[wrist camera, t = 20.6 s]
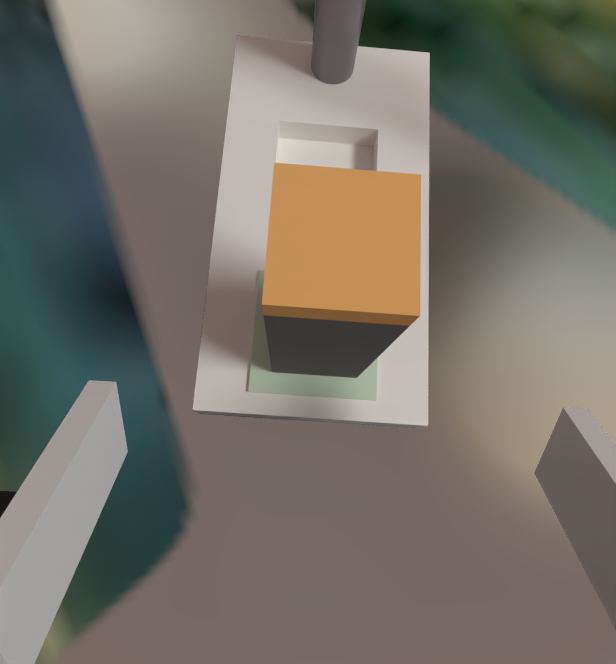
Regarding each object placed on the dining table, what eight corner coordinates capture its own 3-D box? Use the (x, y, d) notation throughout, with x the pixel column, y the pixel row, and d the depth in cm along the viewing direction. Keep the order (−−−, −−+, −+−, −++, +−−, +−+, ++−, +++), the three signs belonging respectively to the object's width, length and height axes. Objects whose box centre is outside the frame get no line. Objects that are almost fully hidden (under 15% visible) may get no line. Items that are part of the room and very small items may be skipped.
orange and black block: (278, 291, 24) (274, 162, 13) (359, 297, 24) (421, 174, 13) (272, 372, 23) (261, 304, 12) (356, 377, 23) (420, 315, 12)
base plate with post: (240, 68, 30) (207, -222, 17) (417, 84, 30) (518, -188, 17) (201, 413, 25) (111, 375, 12) (414, 428, 25) (550, 405, 12)
